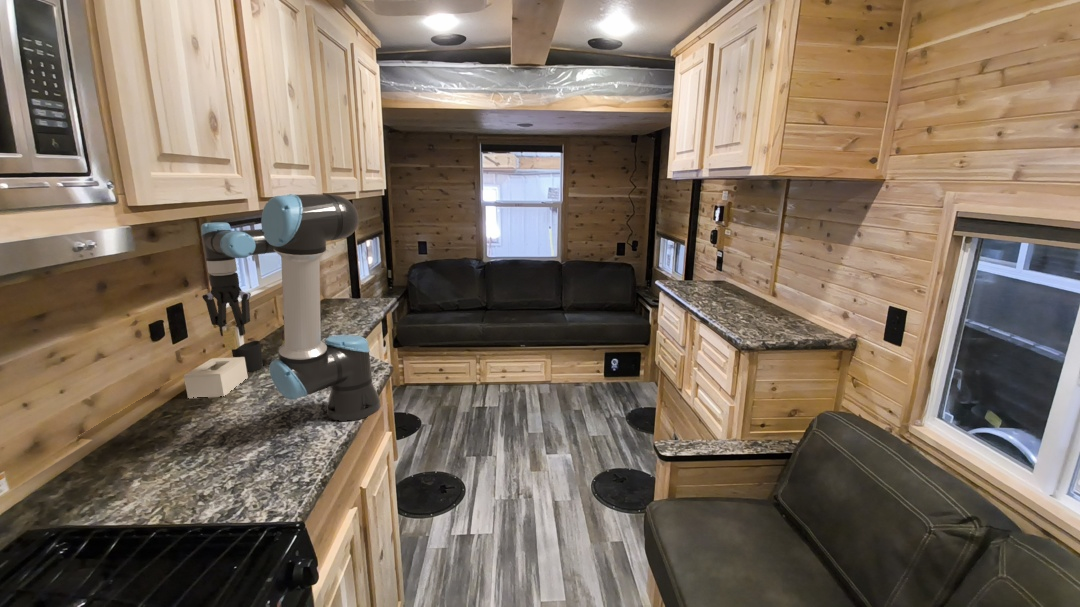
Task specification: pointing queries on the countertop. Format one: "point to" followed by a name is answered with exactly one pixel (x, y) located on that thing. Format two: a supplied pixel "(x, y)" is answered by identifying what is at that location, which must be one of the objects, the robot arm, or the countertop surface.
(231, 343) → the block
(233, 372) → the box
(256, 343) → the pen holder
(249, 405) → the countertop surface
